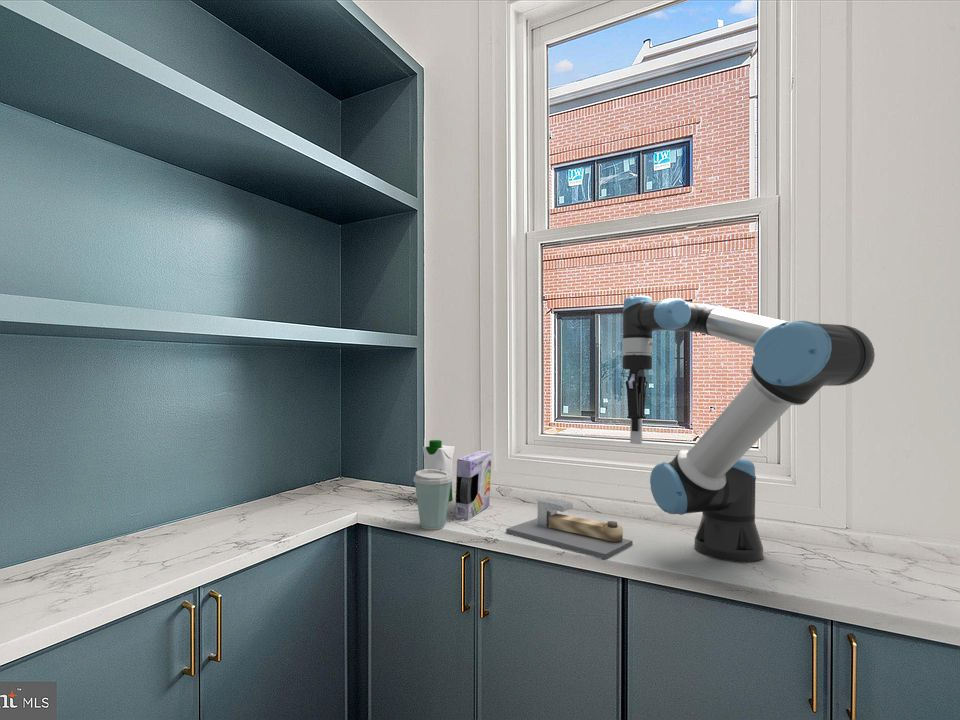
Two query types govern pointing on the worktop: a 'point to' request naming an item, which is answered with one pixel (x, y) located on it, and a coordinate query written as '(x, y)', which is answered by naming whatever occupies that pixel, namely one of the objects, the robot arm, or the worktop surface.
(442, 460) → the milk carton
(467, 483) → the cake pan box
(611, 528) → the brass link
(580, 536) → the board
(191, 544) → the worktop surface
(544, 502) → the block
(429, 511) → the disposable coffee cup
